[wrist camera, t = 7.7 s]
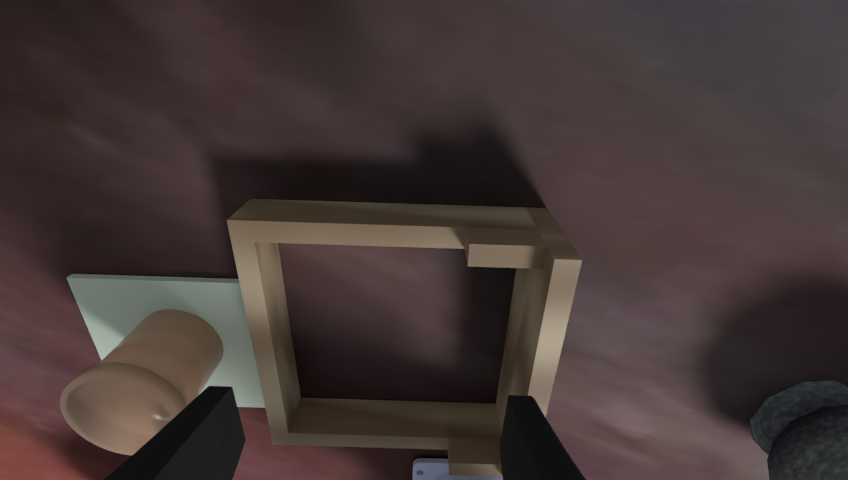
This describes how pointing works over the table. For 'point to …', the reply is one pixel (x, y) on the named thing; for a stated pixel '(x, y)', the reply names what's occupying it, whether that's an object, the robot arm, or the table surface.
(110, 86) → the table surface
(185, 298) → the mat
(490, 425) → the wooden frame
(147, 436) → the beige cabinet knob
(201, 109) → the table surface
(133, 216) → the table surface
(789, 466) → the mortar and pestle
